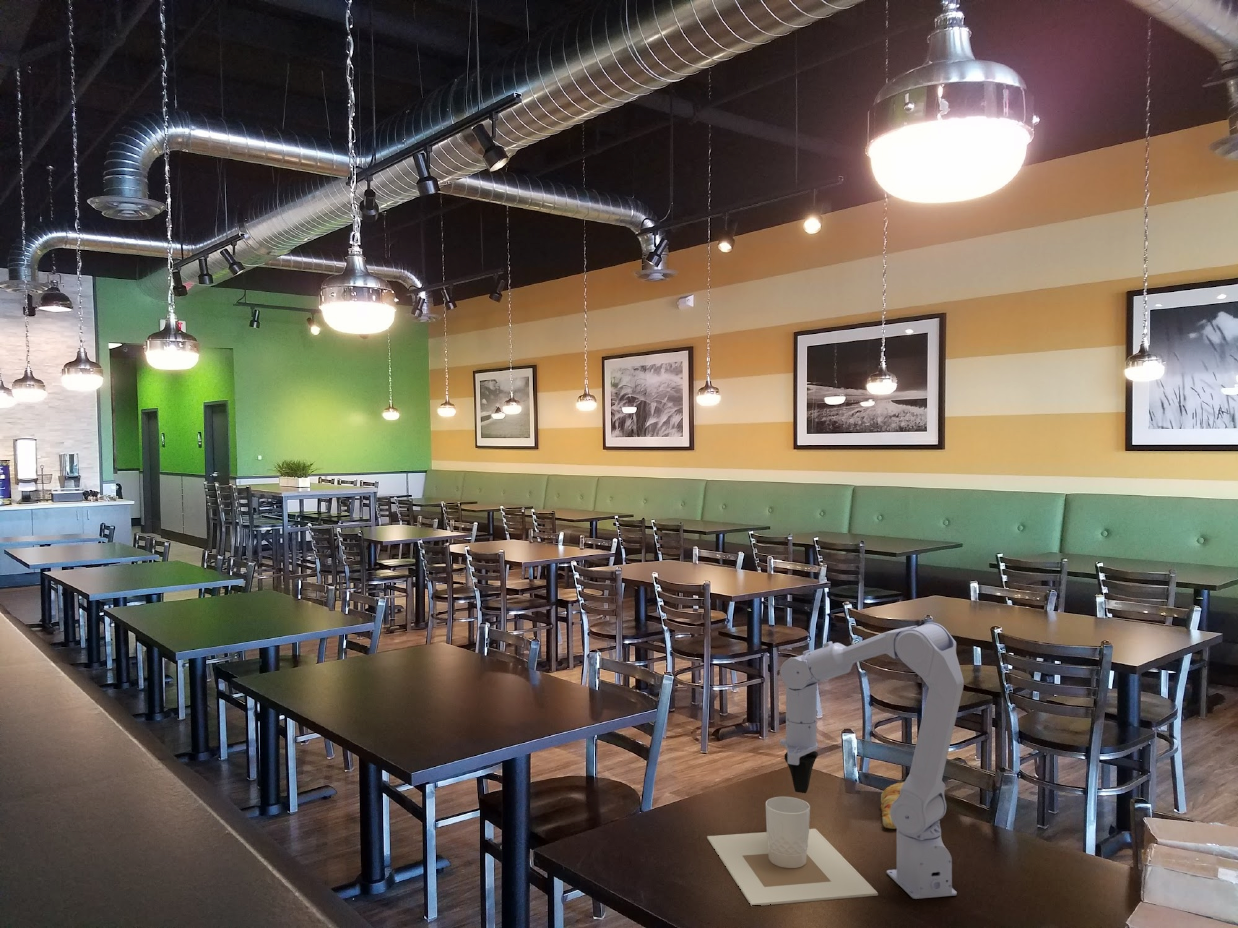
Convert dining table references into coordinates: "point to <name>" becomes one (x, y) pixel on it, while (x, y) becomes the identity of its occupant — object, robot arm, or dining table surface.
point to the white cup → (787, 831)
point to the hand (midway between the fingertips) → (801, 791)
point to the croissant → (889, 803)
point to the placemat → (788, 871)
